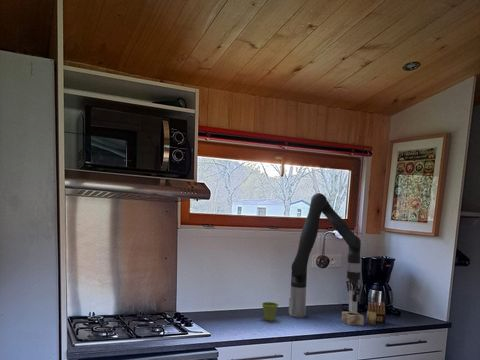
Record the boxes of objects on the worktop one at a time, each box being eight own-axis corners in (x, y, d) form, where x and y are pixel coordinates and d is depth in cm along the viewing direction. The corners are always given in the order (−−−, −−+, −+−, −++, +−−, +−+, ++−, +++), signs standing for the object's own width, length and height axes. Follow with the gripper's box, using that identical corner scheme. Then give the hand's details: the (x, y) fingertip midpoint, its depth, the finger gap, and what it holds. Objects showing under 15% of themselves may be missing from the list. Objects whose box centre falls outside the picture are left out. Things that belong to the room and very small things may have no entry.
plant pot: (280, 321, 212) (281, 305, 213) (266, 322, 208) (267, 306, 209) (272, 316, 221) (272, 301, 222) (258, 317, 217) (259, 302, 217)
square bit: (351, 312, 215) (352, 291, 216) (348, 310, 218) (349, 289, 219) (357, 312, 216) (357, 291, 217) (354, 310, 219) (354, 289, 220)
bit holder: (348, 325, 211) (349, 316, 212) (341, 320, 220) (341, 311, 220) (363, 325, 213) (363, 316, 213) (355, 320, 222) (356, 311, 222)
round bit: (369, 325, 212) (370, 313, 213) (364, 322, 217) (365, 310, 218) (377, 325, 213) (378, 313, 214) (372, 322, 218) (373, 310, 219)
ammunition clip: (384, 322, 221) (384, 301, 222) (385, 323, 219) (386, 302, 220) (366, 322, 220) (367, 301, 221) (368, 322, 218) (368, 301, 219)
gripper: (342, 268, 225) (341, 297, 224) (353, 272, 211) (352, 303, 210) (353, 268, 226) (353, 297, 225) (365, 272, 213) (365, 303, 211)
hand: (353, 300), depth 217 cm, fingers closed on square bit, 3 cm apart
